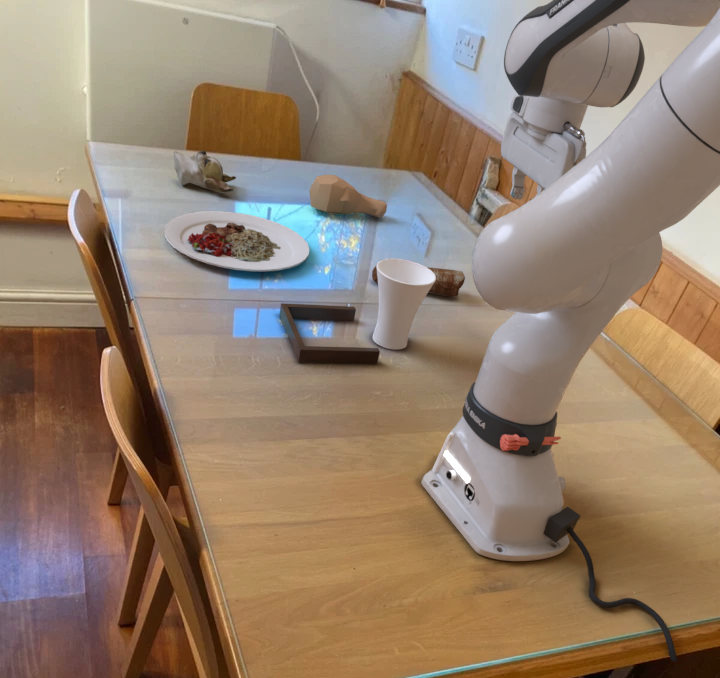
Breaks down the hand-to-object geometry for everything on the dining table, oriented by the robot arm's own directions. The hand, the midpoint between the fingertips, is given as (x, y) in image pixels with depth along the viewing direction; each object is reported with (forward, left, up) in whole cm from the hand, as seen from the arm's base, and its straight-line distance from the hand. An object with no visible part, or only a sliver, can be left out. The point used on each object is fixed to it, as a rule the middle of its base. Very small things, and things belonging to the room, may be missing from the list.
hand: (524, 205), depth 115 cm
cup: (+2, +17, -27) cm, 32 cm away
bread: (+24, +4, -27) cm, 37 cm away
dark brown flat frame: (+2, +29, -27) cm, 39 cm away
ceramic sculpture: (+75, +42, -27) cm, 90 cm away
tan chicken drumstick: (+66, +8, -27) cm, 72 cm away
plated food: (+40, +39, -27) cm, 62 cm away
